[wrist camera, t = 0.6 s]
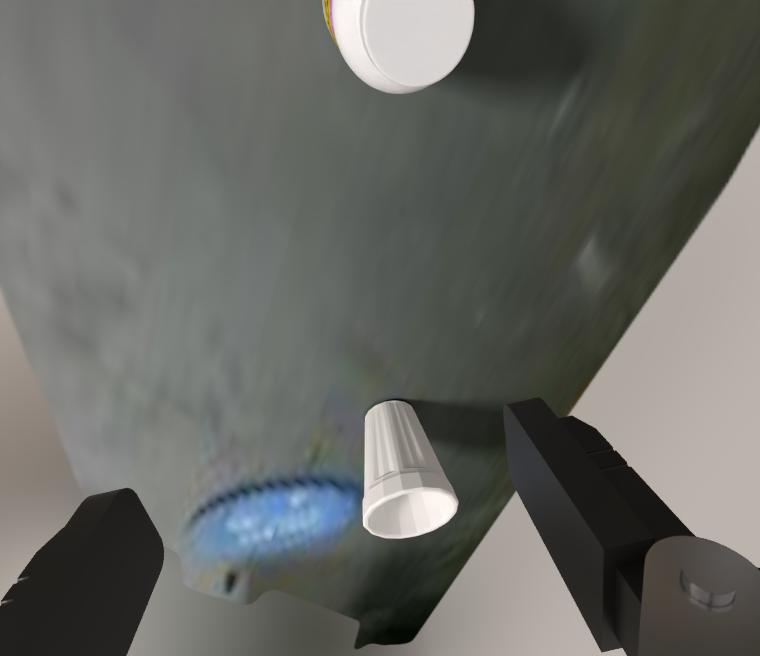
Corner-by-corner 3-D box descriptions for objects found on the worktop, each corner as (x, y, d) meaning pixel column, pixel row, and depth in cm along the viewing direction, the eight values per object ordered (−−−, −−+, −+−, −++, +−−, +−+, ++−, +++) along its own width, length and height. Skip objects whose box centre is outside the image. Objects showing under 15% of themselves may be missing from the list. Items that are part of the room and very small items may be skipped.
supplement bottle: (309, -58, 25) (320, -74, 15) (420, -80, 25) (501, -110, 15) (334, 72, 29) (355, 125, 20) (429, 53, 30) (497, 95, 20)
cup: (432, 428, 57) (462, 524, 47) (359, 446, 57) (373, 547, 47) (422, 378, 50) (454, 478, 41) (340, 399, 51) (351, 504, 41)
